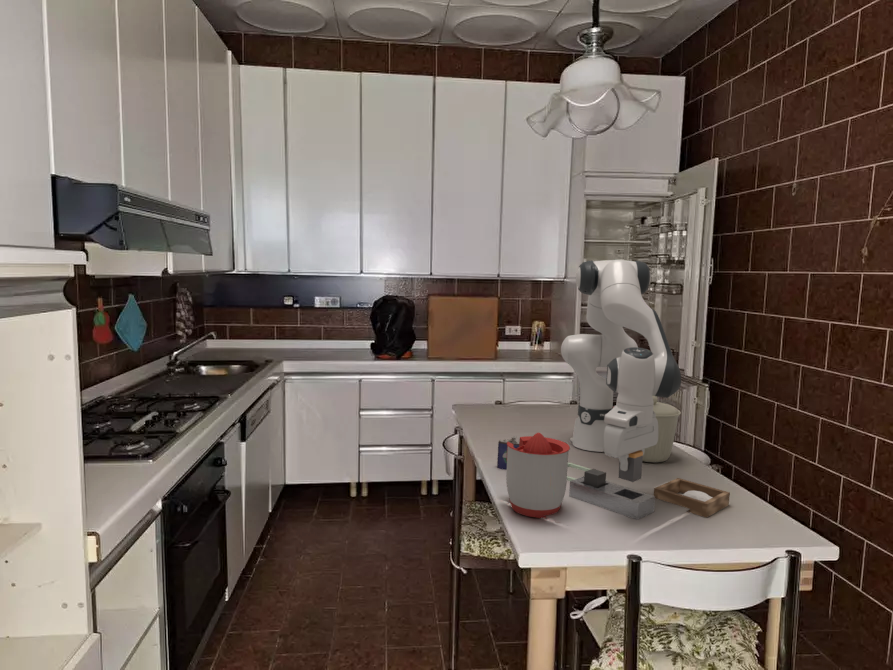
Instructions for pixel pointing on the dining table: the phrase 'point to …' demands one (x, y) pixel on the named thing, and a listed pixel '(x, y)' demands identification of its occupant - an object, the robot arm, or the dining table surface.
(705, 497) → the garlic
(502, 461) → the blue box
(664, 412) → the canister
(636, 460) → the plug
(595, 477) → the twin plug
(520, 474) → the citrus juicer
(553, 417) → the dining table surface
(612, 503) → the grey socket block
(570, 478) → the tray
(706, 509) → the garlic corral
